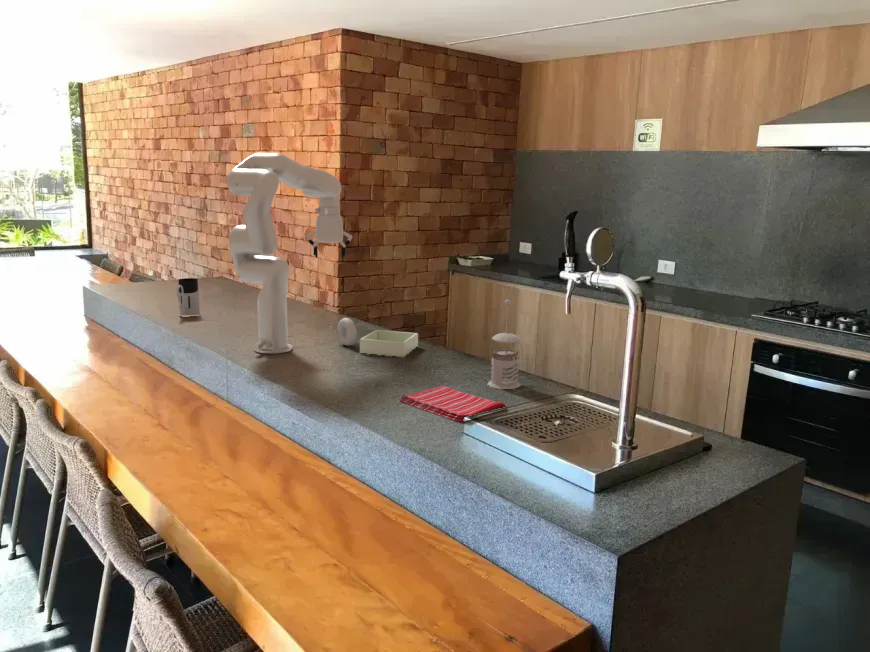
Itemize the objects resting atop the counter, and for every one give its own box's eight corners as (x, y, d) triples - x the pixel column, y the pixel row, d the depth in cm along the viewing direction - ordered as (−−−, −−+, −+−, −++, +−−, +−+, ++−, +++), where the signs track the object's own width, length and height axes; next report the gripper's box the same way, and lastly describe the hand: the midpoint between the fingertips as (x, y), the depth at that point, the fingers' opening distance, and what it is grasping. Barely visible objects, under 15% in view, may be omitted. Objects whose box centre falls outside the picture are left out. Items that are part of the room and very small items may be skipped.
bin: (404, 357, 233) (404, 342, 232) (359, 353, 237) (359, 339, 236) (417, 347, 248) (418, 333, 247) (375, 343, 252) (375, 329, 251)
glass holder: (204, 313, 298) (202, 278, 295) (189, 320, 285) (187, 283, 281) (184, 312, 299) (182, 277, 296) (168, 319, 285) (166, 282, 282)
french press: (480, 384, 205) (483, 298, 200) (506, 377, 213) (509, 294, 208) (506, 391, 198) (510, 303, 193) (532, 384, 206) (536, 299, 201)
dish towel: (463, 426, 171) (463, 416, 171) (398, 403, 188) (398, 393, 187) (508, 411, 183) (509, 401, 183) (443, 390, 200) (443, 381, 199)
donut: (335, 343, 250) (335, 315, 248) (344, 342, 252) (344, 315, 250) (350, 349, 243) (349, 320, 241) (358, 348, 245) (358, 319, 243)
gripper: (305, 211, 259) (305, 258, 263) (353, 212, 262) (352, 258, 265) (305, 210, 267) (306, 256, 270) (352, 211, 269) (352, 256, 273)
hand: (329, 257), depth 268 cm, fingers open, 9 cm apart
